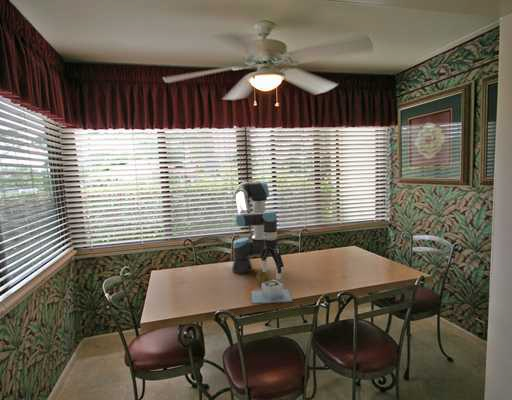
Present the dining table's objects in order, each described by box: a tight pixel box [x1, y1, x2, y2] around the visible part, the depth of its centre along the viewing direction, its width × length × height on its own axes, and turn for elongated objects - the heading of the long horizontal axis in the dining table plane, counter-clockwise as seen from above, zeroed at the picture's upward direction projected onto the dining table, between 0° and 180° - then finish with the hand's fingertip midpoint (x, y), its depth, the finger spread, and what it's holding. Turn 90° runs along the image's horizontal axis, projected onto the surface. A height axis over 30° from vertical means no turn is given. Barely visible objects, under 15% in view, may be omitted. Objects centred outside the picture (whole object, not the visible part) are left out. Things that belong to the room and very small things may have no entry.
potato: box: [256, 269, 272, 285], centre depth 188 cm, size 8×13×8 cm, turn 10°
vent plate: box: [251, 282, 293, 305], centre depth 169 cm, size 16×22×8 cm
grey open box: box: [260, 279, 284, 300], centre depth 169 cm, size 9×9×7 cm
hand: (271, 274), depth 169 cm, fingers open, 13 cm apart
